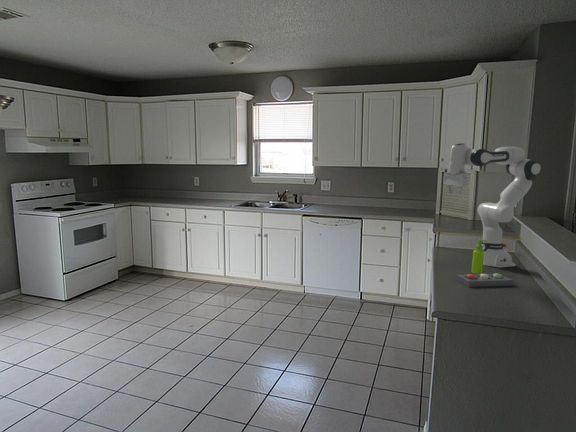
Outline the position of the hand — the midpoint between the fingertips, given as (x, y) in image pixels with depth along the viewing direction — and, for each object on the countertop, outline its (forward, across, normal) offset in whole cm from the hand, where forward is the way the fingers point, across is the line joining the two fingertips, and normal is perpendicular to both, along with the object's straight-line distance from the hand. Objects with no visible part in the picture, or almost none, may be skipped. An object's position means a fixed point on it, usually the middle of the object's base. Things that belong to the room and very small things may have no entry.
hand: (454, 193), depth 250 cm
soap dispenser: (+46, -16, -10) cm, 49 cm away
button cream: (+44, -34, -1) cm, 55 cm away
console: (+45, -34, -1) cm, 57 cm away
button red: (+44, -34, +7) cm, 56 cm away
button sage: (+44, -34, -9) cm, 56 cm away
